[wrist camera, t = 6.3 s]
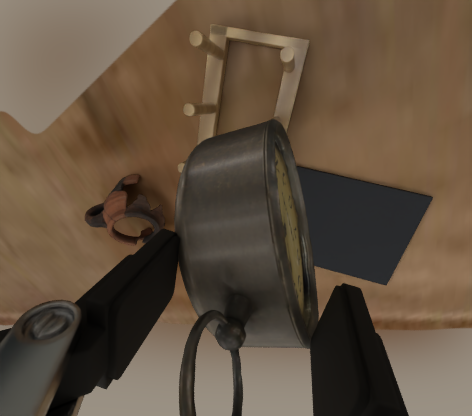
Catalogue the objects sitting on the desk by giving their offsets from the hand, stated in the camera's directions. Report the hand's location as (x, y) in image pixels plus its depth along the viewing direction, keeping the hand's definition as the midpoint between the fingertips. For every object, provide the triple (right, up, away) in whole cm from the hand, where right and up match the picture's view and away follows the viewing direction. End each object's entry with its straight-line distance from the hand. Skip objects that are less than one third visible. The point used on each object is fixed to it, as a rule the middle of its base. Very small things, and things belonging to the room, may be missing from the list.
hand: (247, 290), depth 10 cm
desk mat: (+14, 0, +27) cm, 30 cm away
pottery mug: (-16, +4, +33) cm, 37 cm away
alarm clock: (+2, +4, +10) cm, 11 cm away
